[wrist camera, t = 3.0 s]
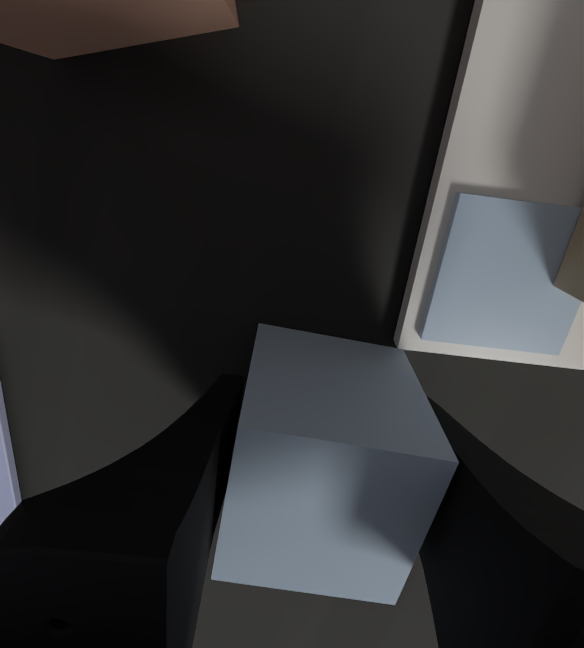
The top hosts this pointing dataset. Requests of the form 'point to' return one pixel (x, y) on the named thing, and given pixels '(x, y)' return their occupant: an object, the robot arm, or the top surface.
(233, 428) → the robot arm
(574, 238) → the maple base block
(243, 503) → the blue-grey block
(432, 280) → the mat
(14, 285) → the top surface
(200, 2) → the terracotta block
